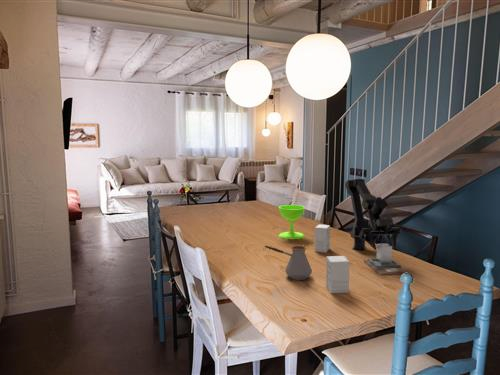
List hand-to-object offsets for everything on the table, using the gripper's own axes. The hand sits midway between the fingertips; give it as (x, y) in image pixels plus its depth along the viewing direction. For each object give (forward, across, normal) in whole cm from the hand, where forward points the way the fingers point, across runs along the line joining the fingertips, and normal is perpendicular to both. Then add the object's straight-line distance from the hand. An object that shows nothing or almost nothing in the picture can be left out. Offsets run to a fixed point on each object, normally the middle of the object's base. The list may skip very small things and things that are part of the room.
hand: (385, 249), depth 177 cm
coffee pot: (+12, -47, 0) cm, 49 cm away
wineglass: (-37, -31, +50) cm, 70 cm away
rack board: (+6, 0, +6) cm, 9 cm away
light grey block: (+4, 0, +6) cm, 7 cm away
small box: (-15, -21, +28) cm, 38 cm away
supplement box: (+23, -30, -10) cm, 39 cm away
